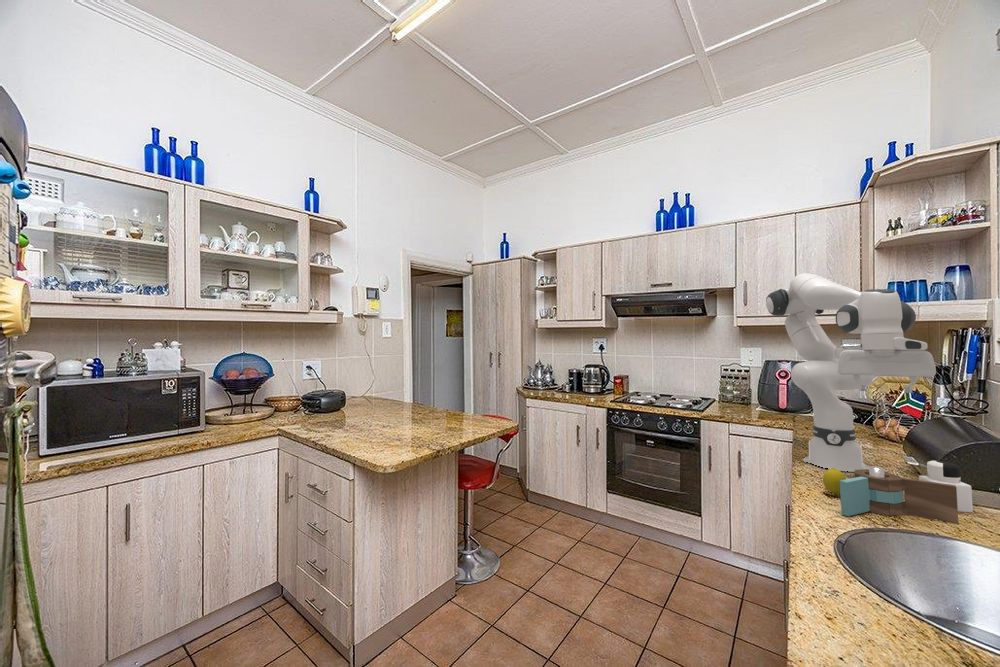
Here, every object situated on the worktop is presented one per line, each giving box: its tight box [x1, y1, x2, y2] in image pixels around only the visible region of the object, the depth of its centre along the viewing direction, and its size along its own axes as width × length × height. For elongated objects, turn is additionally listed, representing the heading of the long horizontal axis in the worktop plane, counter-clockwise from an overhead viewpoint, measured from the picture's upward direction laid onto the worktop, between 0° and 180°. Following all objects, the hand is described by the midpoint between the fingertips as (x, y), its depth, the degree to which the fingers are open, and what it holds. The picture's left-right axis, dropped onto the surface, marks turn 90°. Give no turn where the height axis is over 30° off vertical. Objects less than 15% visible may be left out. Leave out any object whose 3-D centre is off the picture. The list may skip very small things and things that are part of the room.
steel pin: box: [868, 465, 885, 478], centre depth 106 cm, size 3×3×11 cm
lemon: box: [822, 468, 847, 496], centre depth 116 cm, size 6×6×8 cm
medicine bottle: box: [918, 460, 974, 514], centre depth 107 cm, size 7×7×12 cm
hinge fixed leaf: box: [854, 469, 959, 525], centre depth 103 cm, size 9×19×9 cm, turn 49°
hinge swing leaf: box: [840, 476, 905, 517], centre depth 105 cm, size 19×9×9 cm, turn 109°
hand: (884, 391), depth 112 cm, fingers open, 8 cm apart
